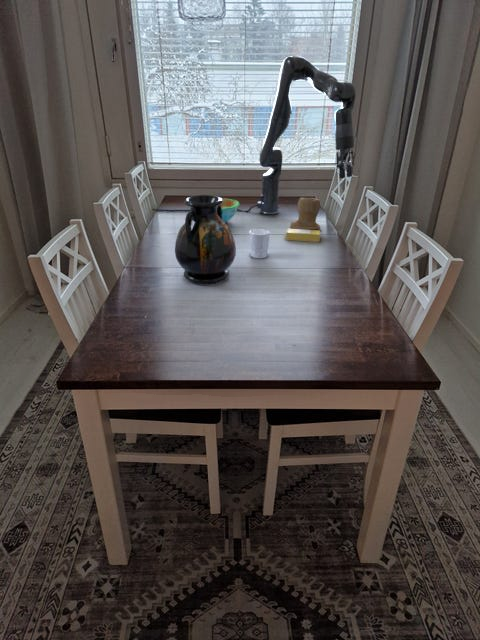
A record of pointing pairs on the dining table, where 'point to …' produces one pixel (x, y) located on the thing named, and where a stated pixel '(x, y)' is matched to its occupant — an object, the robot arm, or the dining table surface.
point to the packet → (303, 235)
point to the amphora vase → (205, 242)
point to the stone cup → (307, 214)
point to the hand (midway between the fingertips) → (346, 177)
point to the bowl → (228, 209)
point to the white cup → (259, 243)
